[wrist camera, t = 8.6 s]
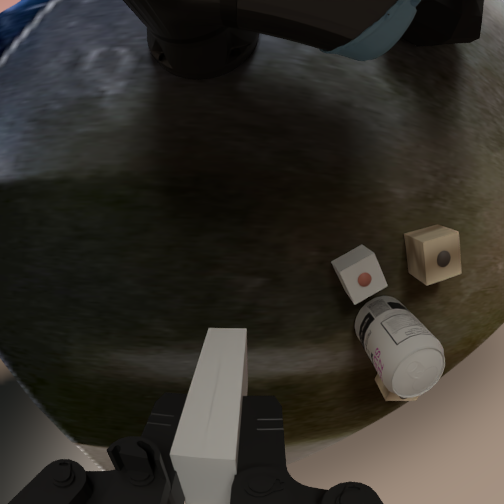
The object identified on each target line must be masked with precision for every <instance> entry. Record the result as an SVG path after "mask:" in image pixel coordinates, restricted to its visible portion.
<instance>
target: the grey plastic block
mask: <svg viewBox="0 0 504 504" xmlns="http://www.w3.org/2000/svg"><path fill="white" fill-rule="evenodd" d="M331 263H332V265H333V267H334V269H335V271H336V273H337V275H338V277H339V279H340V282H341V284H342V286H343V288H344V290H345V292H346V293H347V295H348V296H349V297H350V299H351V300H352V302H353V303H354V305H355V304H357V303H359V302H361V301H363V300H364V299H366V298H368V297H370V296H371V295H373V294H375V293H377V292H378V291H380V290H382V289H383V288H385V287H387V286H388V285H387V283H386V280H385V278H384V275H383V273H382V270H381V268H380V266H379V263H378V261H377V259H376V256H375V254H374V252H372V251H371V250H369V249H368V248H366V247H365V246H364V245H360V246H358V247H356V248H355V249H353V250H351V251H349V252H348V253H346V254H344V255H342V256H340V257H339V258H337V259H335V260H333V261H331Z"/></svg>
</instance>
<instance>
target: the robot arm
mask: <svg viewBox="0 0 504 504" xmlns="http://www.w3.org/2000/svg"><path fill="white" fill-rule="evenodd" d="M123 1H124V2H125V3H126V4H127V5H128V7H129V8H130V9H131V10H132V11H133V12H134V13H135V14H136V16H137V17H138V18H139V19H140V20H141V21H142V22H143V24H144V25H145V26H146V27H147V42H148V46H149V49H150V51H151V53H152V55H153V57H154V58H155V59H156V60H157V62H158V63H159V64H160V65H161V66H162V67H163V68H165V69H166V70H167V71H169V72H170V73H172V74H174V75H177V76H180V77H183V78H188V79H207V78H212V77H216V76H220V75H222V74H225V73H227V72H229V71H231V70H233V69H235V68H236V67H238V66H239V65H240V64H241V63H243V62H244V61H245V60H246V59H247V58H248V57H249V55H250V54H251V53H252V51H253V50H254V48H255V46H256V44H257V41H258V37H259V33H261V34H265V35H270V36H274V37H278V38H283V39H287V40H290V41H294V42H298V43H302V44H305V45H309V46H312V47H315V48H319V49H320V51H322V52H324V53H330V54H338V55H341V56H345V57H348V58H351V59H354V60H358V61H366V60H373V59H376V58H378V57H380V56H381V55H383V54H384V53H386V52H387V51H388V50H389V49H391V48H392V47H393V46H394V45H395V44H396V42H397V41H398V40H399V39H400V38H401V37H402V35H403V34H404V32H405V31H406V30H407V28H408V27H409V25H410V23H411V22H412V20H413V18H414V16H415V14H416V11H417V10H416V6H417V5H418V3H419V2H420V1H421V0H123ZM247 388H248V369H247V329H246V328H209V329H208V332H207V335H206V338H205V341H204V344H203V347H202V351H201V354H200V357H199V360H198V363H197V367H196V370H195V373H194V376H193V379H192V383H191V386H190V389H189V392H188V394H176V393H165V394H164V395H163V396H161V397H160V398H159V399H158V400H157V401H156V402H155V405H154V407H153V409H152V412H151V415H150V416H149V419H148V421H147V422H148V423H147V424H146V426H145V428H144V431H143V433H142V435H141V437H126V438H122V439H119V440H117V441H116V442H114V443H112V444H111V445H110V447H109V448H108V449H107V452H108V455H109V457H110V459H111V461H112V463H113V465H114V467H115V470H111V471H85V470H84V468H83V467H82V466H81V465H80V464H78V463H77V462H75V461H72V460H69V459H68V460H67V459H60V460H57V461H53V462H52V463H50V464H49V465H47V466H46V467H45V468H44V469H43V470H42V471H41V472H40V473H39V474H38V475H37V476H36V477H35V478H34V479H33V480H32V481H31V482H30V483H29V484H28V485H27V486H25V487H24V488H23V489H22V491H20V492H19V493H18V494H17V495H16V496H15V497H14V498H13V499H12V500H11V501H10V502H9V503H8V504H184V501H185V503H186V504H383V502H382V501H381V500H380V498H379V496H378V495H377V493H376V492H375V491H374V490H372V488H371V487H369V486H367V485H365V484H362V483H358V482H346V483H340V484H338V485H336V486H334V487H332V488H330V489H329V490H324V489H318V488H312V487H308V486H305V485H302V484H300V483H298V482H297V481H295V480H294V479H293V478H292V477H291V476H290V475H289V473H288V471H287V467H286V458H285V444H284V431H283V420H282V406H281V405H280V403H279V402H278V400H277V399H276V398H275V396H247Z"/></svg>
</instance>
